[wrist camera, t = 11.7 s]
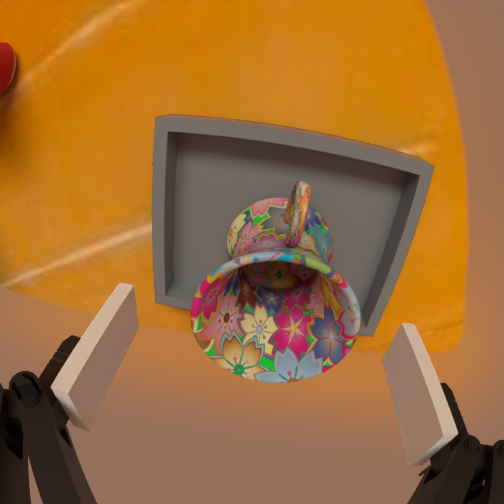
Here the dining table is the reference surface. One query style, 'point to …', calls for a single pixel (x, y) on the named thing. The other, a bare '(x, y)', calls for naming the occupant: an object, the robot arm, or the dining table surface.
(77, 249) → the dining table surface
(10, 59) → the beverage can
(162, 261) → the tray
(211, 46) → the dining table surface
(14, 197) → the dining table surface
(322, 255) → the mug
